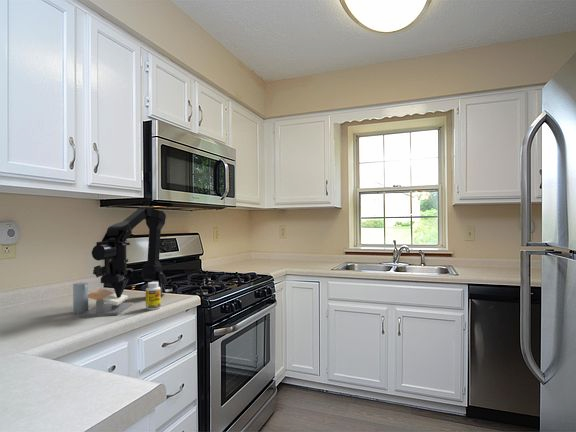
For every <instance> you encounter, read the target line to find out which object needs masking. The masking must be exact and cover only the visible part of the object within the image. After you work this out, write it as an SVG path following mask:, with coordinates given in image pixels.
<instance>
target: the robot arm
mask: <svg viewBox="0 0 576 432" xmlns="http://www.w3.org/2000/svg"><path fill="white" fill-rule="evenodd" d="M166 219H167V215H166V213H165V212H164V210H159V209H155V208H152V207H149V206H139V207H138V208H137V209H136V210H135V211H134V212H132V213H131V214H130V215H129V216H127V217H126V218H125V219H124V220H122V221H120V222H116V223H114V224H112V225H109V226H108V227H107V230H106V232H105V234H104V236H103V237H102V239H101V241H96V244H95V245H94V246H93V248H92V250H91V257H92V258H93V259H94V260H95V261H103V260H108V261H107V264H106V265H104V266H102V265H96V266H94V267H93V270H92V271H93V272H92V274H93V275H95V277H96V278H99V277H100V283H101V284H110V285H112V288H113V290H114V292H115V293H116V296H117V298H120V297H121V295H122V294H123V293H124V290H125V288H126V285H128V282H129V280H130V277H133V276H135V269H133V268H130V267H129V268H127V263H128V262H129V258H127V246H130V245H131V243H130V242H129V241H128V239H129V237H130V236H131V234H132V232H133V229H134V228H136V226H138V225H139V224H140V223H141V222H142V221H144V220H145V224H146V226H147V228H148V242H147V243H148V246H147V247H148V248H147V261H146V262H145V263H144V264H142V266H141V276H142V280H143V283H144V285H148V283H149V282H158V284H159V286H158V287H160V288H161V298H162V297H164V296H165V293H163V284H166V283H167V279H168V277H167V275H165V273H164V272H163V266H162V264H161V262H160V252H161V251H160V250H161V249H160V248H161V232H162V231H161V230H162V229H163V227H164V225H165V224H166ZM127 276H130V277H127Z"/></svg>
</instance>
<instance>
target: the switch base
mask: <svg viewBox="0 0 576 432" xmlns="http://www.w3.org/2000/svg"><path fill="white" fill-rule="evenodd" d="M133 304H134V303H133V302H132V301H131V302H129V301H128V302H121V303H120V304H118V305H114V304H110V303H106V302H104V300H95V306H93V307H91V308H88V310H87V311H85V312H84V313H79V317H80V318H87V317H88V318H89V317H107V316H110V317H111V316H119V315H120V314H121V313H123V312H125V310H128V308H130V307H131V306H133Z"/></svg>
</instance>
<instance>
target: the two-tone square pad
mask: <svg viewBox="0 0 576 432" xmlns="http://www.w3.org/2000/svg"><path fill="white" fill-rule="evenodd" d="M87 298H88V299H92V300H95V301H97V300H104V303H110V304H114V305H118V304H120V303H124V302H125V301H126V300H128V298H129V295H126V294H123V293H122V295H121V297H120V298H117V296H116V293H115V291H111V290H108V289H104V288H100V289H98V290H95V291H93V292H90V293H88V297H87Z"/></svg>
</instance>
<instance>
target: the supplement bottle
mask: <svg viewBox="0 0 576 432" xmlns="http://www.w3.org/2000/svg"><path fill="white" fill-rule="evenodd" d="M158 286H159V284H158V282H149V283H148V284H147V287H146V288H145V309H146V310H148V311H153V310H154V311H155V310H158V309H160V308H161V305H162V301H161V299H162V297H161V288H160V287H158Z"/></svg>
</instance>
